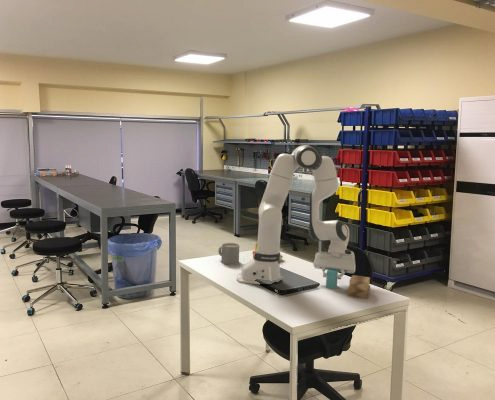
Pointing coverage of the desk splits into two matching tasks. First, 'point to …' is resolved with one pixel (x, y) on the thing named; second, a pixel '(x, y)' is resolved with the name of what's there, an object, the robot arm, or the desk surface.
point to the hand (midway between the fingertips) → (331, 277)
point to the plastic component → (257, 249)
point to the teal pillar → (331, 278)
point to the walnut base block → (358, 293)
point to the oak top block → (359, 282)
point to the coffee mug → (229, 253)
